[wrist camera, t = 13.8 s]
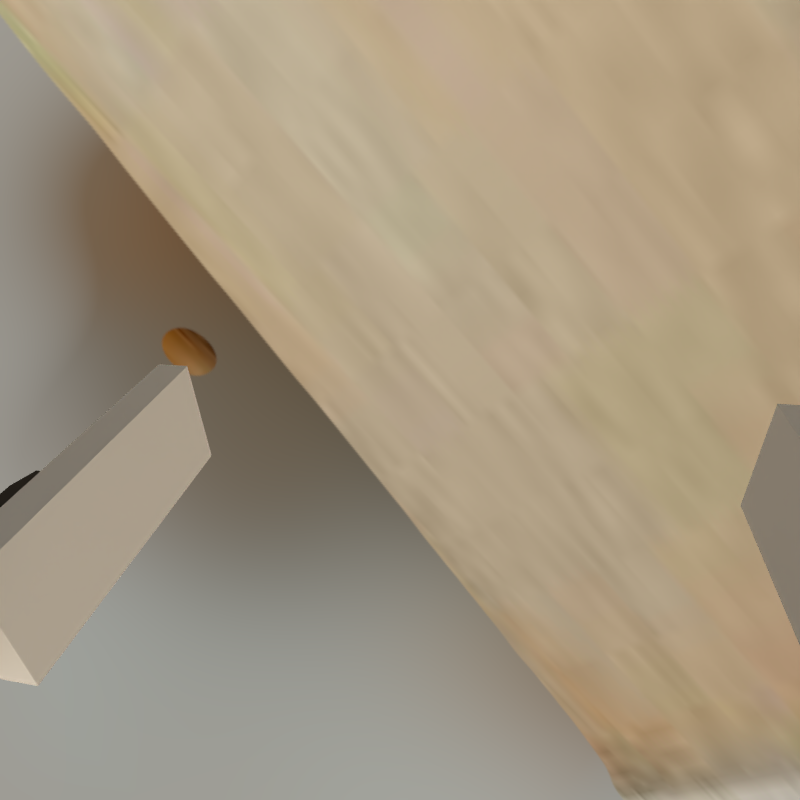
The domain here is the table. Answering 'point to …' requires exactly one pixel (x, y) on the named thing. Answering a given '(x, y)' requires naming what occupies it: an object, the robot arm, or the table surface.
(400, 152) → the table surface
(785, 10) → the table surface
